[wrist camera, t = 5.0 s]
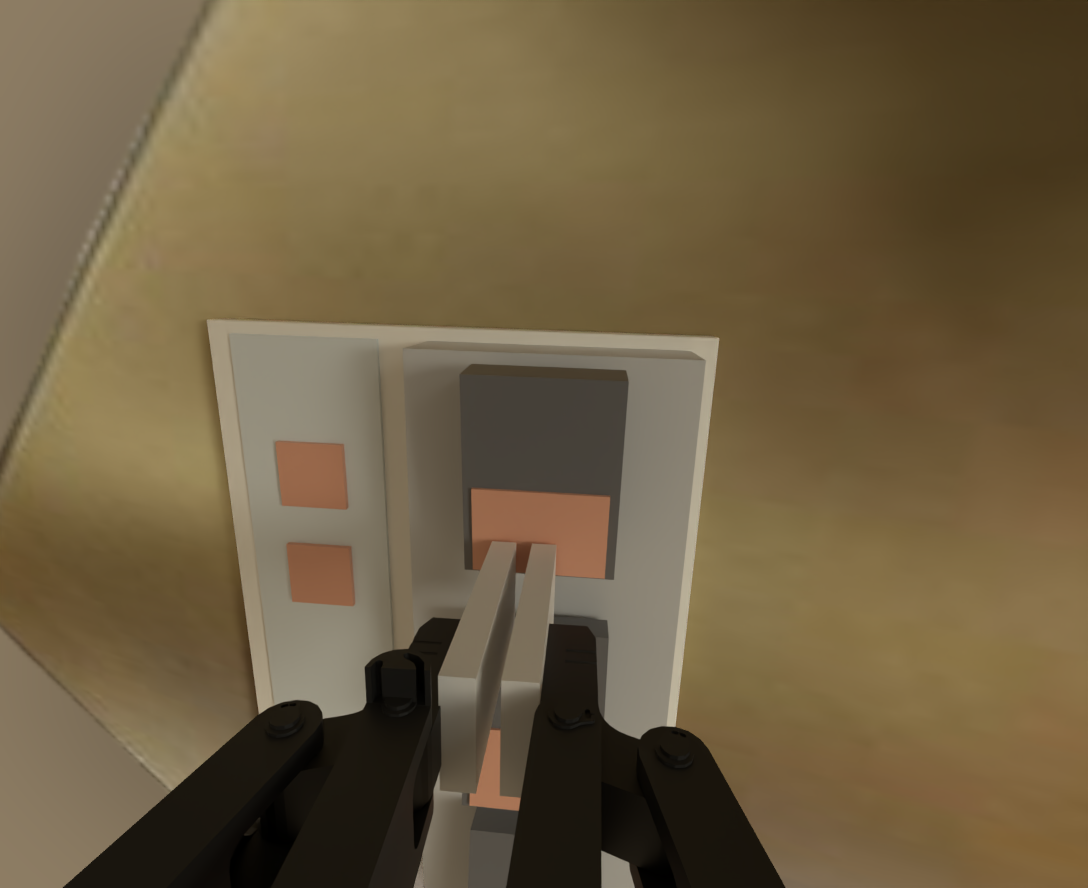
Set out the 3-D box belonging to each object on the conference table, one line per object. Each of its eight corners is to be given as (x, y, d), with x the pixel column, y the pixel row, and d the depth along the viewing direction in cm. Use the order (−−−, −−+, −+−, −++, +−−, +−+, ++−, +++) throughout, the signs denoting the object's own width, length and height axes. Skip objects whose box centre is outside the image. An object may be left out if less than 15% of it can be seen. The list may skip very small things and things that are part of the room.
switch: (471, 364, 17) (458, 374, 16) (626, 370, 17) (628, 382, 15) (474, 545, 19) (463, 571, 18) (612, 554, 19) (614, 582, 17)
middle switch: (477, 610, 21) (467, 628, 19) (607, 620, 20) (609, 639, 18) (471, 775, 21) (460, 807, 19) (597, 787, 21) (598, 821, 19)
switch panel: (222, 318, 23) (147, 323, 19) (713, 336, 21) (739, 345, 18) (284, 809, 30) (238, 885, 26) (656, 849, 28) (666, 936, 25)
